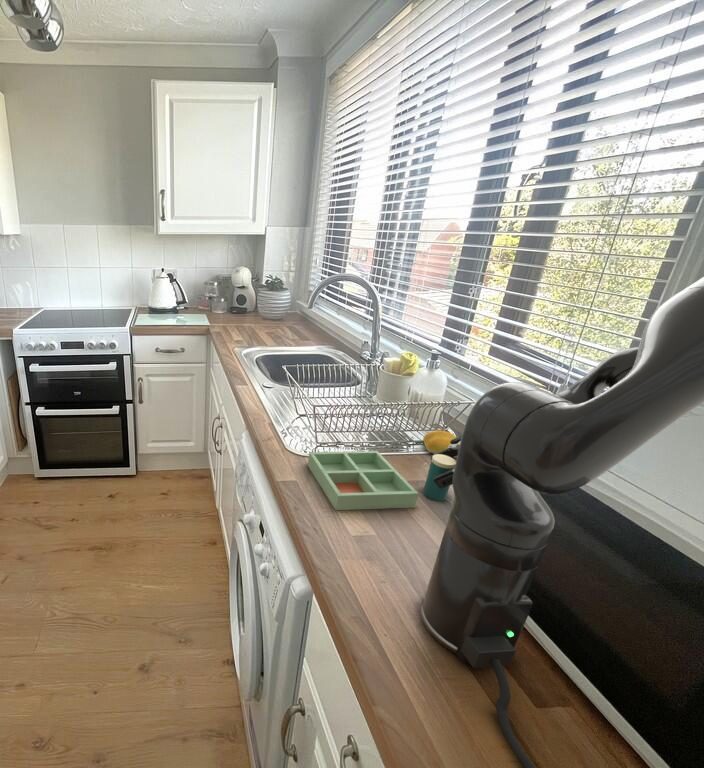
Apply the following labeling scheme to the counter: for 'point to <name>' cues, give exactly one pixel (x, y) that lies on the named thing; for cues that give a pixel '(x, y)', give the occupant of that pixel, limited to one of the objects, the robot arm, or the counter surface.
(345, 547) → the counter surface
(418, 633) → the counter surface
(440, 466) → the teal cream-capped cylinder
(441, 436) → the bread roll
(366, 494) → the grid
